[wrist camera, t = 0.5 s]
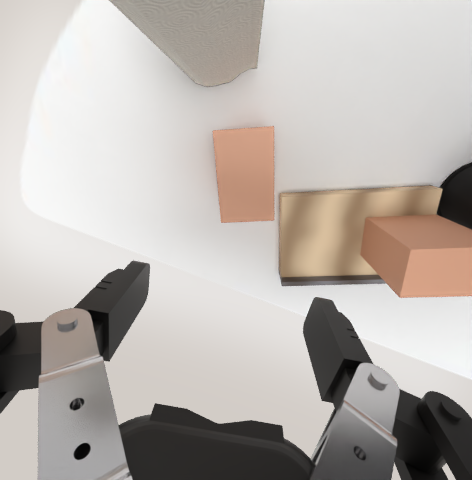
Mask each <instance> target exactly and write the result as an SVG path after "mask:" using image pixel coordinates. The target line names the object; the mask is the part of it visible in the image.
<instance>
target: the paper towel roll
mask: <svg viewBox="0 0 472 480" xmlns="http://www.w3.org/2000/svg"><path fill="white" fill-rule="evenodd" d="M109 1H110V2H111V3H112V4H114V5H115V6H116V7H117V8H118V9H119V10H120V11H121V12H122V13H123V14H124V15H125V16H126V17H127V18H128V19H129V20H130V21H131V22H132V23H133V24H134V25H135V26H136V27H138V28H139V29H140V30H141V31H142V32H143V33H144V34H145V35H146V36H147V37H148V38H149V39H150V40H151V41H152V42H153V43H154V44H155V45H156V46H157V47H158V48H159V49H160V50H162V51H163V52H164V53H165V54H166V55H167V56H168V57H169V58H170V59H171V60H172V61H173V62H174V63H175V64H176V65H177V66H178V67H179V68H180V69H181V70H182V71H183V72H185V73H186V74H187V75H188V76H189V77H190V78H191V79H192V80H193V81H194V82H195V83H197V84H200V85H203V86H206V87H210V86H216V85H220V84H224V83H228V82H231V81H232V80H233V79H234V78H236V77H237V76H238V75H239V74H241V73H242V72H244V71H246V70H249V69H252V68H257V61H258V52H259V44H260V35H261V27H262V18H263V9H264V1H265V0H109Z"/></svg>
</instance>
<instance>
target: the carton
mask: <svg viewBox="0 0 472 480" xmlns="http://www.w3.org/2000/svg"><path fill="white" fill-rule="evenodd" d="M213 139H214V150H215V161H216V172H217V183H218V194H219V205H220V216H221V223H227V222H250V221H272V220H274V126H271V127H256V128H242V129H228V130H214V131H213Z"/></svg>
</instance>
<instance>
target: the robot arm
mask: <svg viewBox="0 0 472 480" xmlns="http://www.w3.org/2000/svg"><path fill="white" fill-rule="evenodd" d="M149 274H150V265H149V264H148V263H143V262H138V261H132V262H131V263H130V264H129V265H128V266H127V267H126V268H125V269H124V270H123V269H117V270H115V271H113V272H111V273H109V274H107V275H106V276H105V277H104V278H103V279H102V280H101V282H99V283H98V284H97V285H96V287H95V288H93V289H92V290H91V291H90V292H89V293H88V294H87V295H86V296H85V297H84V298H83V299H82V300H81V301H80V302H79V303H78V304H77V305H76V306H75V307H74V308H70V309H65V310H61V311H58V312H56V313H54V314H52V315H50V316H49V317H48V318H47V319H46V320H45V321H44V322H30V323H15V319H14V316H13V315H12V314H11V313H9V312H6V311H1V310H0V413H1V412H2V411H3V410H4V408H5V407H6V406H7V405H8V404H9V402H10V401H11V400H12V399H13V397H14V396H15V395H16V394H17V393H18V391H19V390H25V389H33V388H39V401H38V402H39V403H38V480H391V478H392V472H393V466H394V462H395V465H396V467H397V470H398V472H399V475H400V477H401V480H448V478H447V476H446V475H445V473H444V471H443V469H442V467H443V465H445V464H446V463H447V464H448V466H449V468H450V470H451V471H452V473H453V475H454V477H455V479H456V480H472V418H471V417H470V416H469V415H468V413H467V412H466V411H465V410H464V409H463V408H462V407H461V406H460V405H458V404H457V403H456V402H454V401H453V400H452V399H450V398H449V397H447V396H445V395H443V394H441V393H438V392H434V391H430V392H427V393H426V394H425V395H424V397H423V398H422V399H420V398H418V397H416V396H413V395H412V394H409V393H407V392H405V391H403V390H400V389H399V387H398V385H397V383H396V381H395V380H394V379H393V378H392V377H391V376H390V375H389V374H388V373H387V372H386V371H385V370H383V369H382V368H380V367H378V366H376V365H374V364H373V363H372V361H371V359H370V357H369V355H368V354H367V352H366V350H365V348H364V346H363V344H362V343H361V341H360V339H359V337H358V335H357V333H356V332H355V330H354V328H353V326H352V324H351V322H350V321H349V320H348V319H347V318H346V317H345V316H344V315H343V314H342V313H341V312H338V310H337V309H336V307H335V305H334V303H333V301H332V300H328V299H323V298H318V297H315V298H314V300H313V302H312V304H311V307H310V309H309V312H308V314H307V317H306V320H305V322H304V327H303V334H304V338H305V341H306V345H307V348H308V352H309V356H310V360H311V363H312V367H313V370H314V374H315V377H316V381H317V385H318V388H319V392H320V396H321V399H322V401H326V402H331V403H333V404H334V407H335V409H334V410H333V412H332V414H331V417H330V419H329V421H328V423H327V425H326V427H325V429H324V431H323V433H322V436H321V438H320V440H319V442H318V444H317V447H316V448H315V451H314V453H313V455H312V457H311V458H309V457H308V456H307V455H306V454H305V453H304V452H303V451H302V450H301V449H299V448H298V447H297V446H296V445H294V444H293V443H291V442H290V441H288V440H286V439H284V437H283V428H282V426H281V425H275V424H269V423H264V422H258V421H252V420H250V421H242V422H233V423H224V424H217V423H215V422H213V421H210V420H209V419H206V418H204V417H202V416H200V415H198V414H196V413H194V412H192V411H190V410H188V409H184V408H178V407H173V406H167V405H161V404H155V405H154V408H153V411H152V414H151V415H145V416H140V417H136V418H134V419H131V420H128V421H126V422H124V423H122V424H120V425H118V422H117V417H116V413H115V409H114V404H113V400H112V395H111V391H110V387H109V382H108V378H107V373H106V369H105V365H104V361H110V359H111V358H112V356H113V354H114V353H115V351H116V349H117V348H118V346H119V344H120V343H121V341H122V340H123V338H124V336H125V335H126V333H127V331H128V330H129V328H130V327H131V325H132V323H133V322H134V320H135V318H136V317H137V315H138V313H139V312H140V310H141V308H142V307H143V305H144V303H145V301H146V299H147V295H148V287H149Z"/></svg>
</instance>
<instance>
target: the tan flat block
mask: <svg viewBox="0 0 472 480" xmlns="http://www.w3.org/2000/svg"><path fill="white" fill-rule="evenodd" d="M442 190H443V189H442V188H438V187H434V186H431V185H430V186H411V187H392V188H373V189H354V190H334V191H315V192H296V193H280V231H279V275H280V279H281V284H282V286H306V285H344V284H382V283H386V282H385V281H384V280H383V279H382V278H381V277H380V276H379V275H378V274H377V273H376V271H375V270H374V269H373V268H372V267H371V266H370V265H369V264H368V263H367V262H366V261H365V260H364V258H363V257H362V256H361V255H360V253H361V246H362V239H363V233H364V226H365V219H366V217H388V216H410V215H433V214H436V213H437V209H438V205H439V201H440V197H441V194H442Z"/></svg>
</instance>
